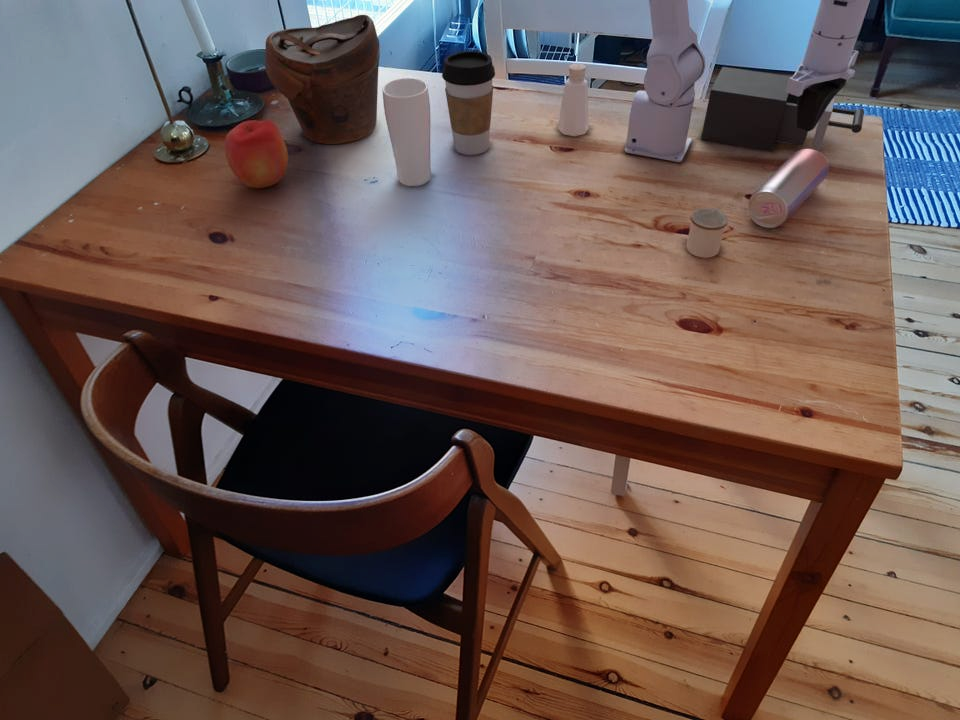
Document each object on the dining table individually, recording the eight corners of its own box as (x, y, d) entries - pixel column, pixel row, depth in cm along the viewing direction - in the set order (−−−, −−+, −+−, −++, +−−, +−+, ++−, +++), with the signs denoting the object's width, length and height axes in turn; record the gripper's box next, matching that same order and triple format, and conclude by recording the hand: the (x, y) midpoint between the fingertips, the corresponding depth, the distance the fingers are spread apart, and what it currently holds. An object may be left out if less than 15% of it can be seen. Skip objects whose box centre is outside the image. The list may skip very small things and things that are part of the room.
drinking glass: (443, 173, 115) (436, 81, 104) (423, 194, 110) (414, 100, 100) (406, 165, 117) (396, 74, 106) (385, 185, 112) (372, 93, 102)
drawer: (855, 134, 118) (870, 94, 113) (851, 158, 112) (866, 117, 108) (759, 119, 123) (769, 80, 118) (751, 141, 117) (761, 101, 112)
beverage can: (833, 181, 106) (792, 227, 98) (793, 186, 111) (751, 230, 103) (826, 143, 104) (783, 187, 96) (786, 150, 108) (741, 192, 100)
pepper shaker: (590, 136, 122) (595, 72, 114) (558, 136, 122) (561, 73, 114) (587, 121, 126) (592, 58, 118) (556, 122, 126) (559, 59, 118)
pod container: (681, 254, 97) (687, 223, 94) (689, 235, 100) (695, 204, 97) (716, 262, 96) (724, 231, 92) (723, 242, 99) (731, 212, 95)
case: (261, 136, 126) (233, 31, 113) (345, 96, 136) (329, -4, 123) (327, 167, 117) (305, 58, 104) (412, 122, 127) (401, 17, 115)
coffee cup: (438, 154, 119) (431, 64, 108) (458, 131, 125) (453, 44, 114) (485, 162, 117) (482, 71, 106) (503, 138, 122) (502, 50, 112)
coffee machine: (780, 125, 122) (794, 76, 116) (772, 151, 116) (786, 101, 110) (712, 115, 126) (722, 66, 120) (700, 139, 120) (710, 89, 114)
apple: (300, 167, 117) (287, 109, 110) (288, 199, 111) (273, 139, 103) (243, 168, 118) (226, 111, 111) (227, 200, 111) (208, 140, 104)
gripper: (834, 55, 88) (803, 155, 98) (891, 24, 95) (856, 120, 104) (784, 39, 92) (758, 137, 102) (842, 11, 99) (812, 105, 108)
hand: (805, 127), depth 103 cm, fingers closed
